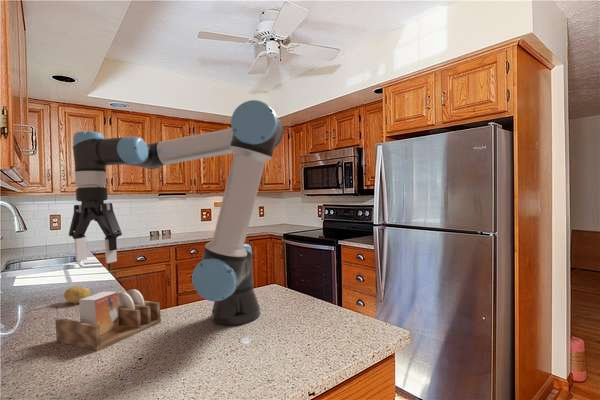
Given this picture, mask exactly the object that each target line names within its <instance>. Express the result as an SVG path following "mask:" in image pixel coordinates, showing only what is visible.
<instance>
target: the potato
mask: <svg viewBox="0 0 600 400" xmlns="http://www.w3.org/2000/svg"><path fill="white" fill-rule="evenodd" d="M89 296H91V290H90V289H89V288H87V287H85V286H74V287H69V288H67V289H66V290H65V291H64V293H63V297H64V299H65V301H66V302H68V303H71V304H79V300H80V299H83V298H86V297H89Z"/></svg>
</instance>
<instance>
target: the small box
mask: <svg viewBox="0 0 600 400" xmlns="http://www.w3.org/2000/svg"><path fill="white" fill-rule="evenodd" d="M117 294H118V291H101V292H98V293H95V294H93V295H90V296H89V297H86V298H83V299H80V300H79V303H78V305H79V322H83V323H88V324H93V325H98V326H100V336H101V335H103V334H105V333H107V332H109V331H111V330H114V329H116V328H118V327H119V316H118V296H117Z"/></svg>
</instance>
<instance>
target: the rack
mask: <svg viewBox="0 0 600 400" xmlns="http://www.w3.org/2000/svg"><path fill="white" fill-rule="evenodd" d="M117 296H118V316H119V327H118V328H116V329H114V330H111V331H109V332H107V333H105V334H103V335H101V336H100V326H98V325H93V324H88V323H83V322H80V321H79V320H72V319H68V318H62V317H57V318H55V335H56V336H55V337H56V342H60V343H64V344H67V345H71V346H75V347H79V348H83V349H86V350H90V351H91V350H92V351H94V352H99V351H101V350H103V349H105V348H107V347H110V346H112V345H114V344H117V343H118V342H121V341H123V340H125V339H127V338H130V337H132V336H134V335H136V334H138V333H140V332H143V331H145V330H147V328H148V329H149V327H150V328H151V327H154V326H156V325H159V324H161V323H162V321H161V320H162V319H161V318H162V317H161V303H160V302H156V301H150V300H144V296H143V295H142V293H141V292H140V291H139V290H138V289H135V288H134V289H129V290H127V291H126V292H119V293H117ZM160 322H161V323H160ZM158 323H159V324H158Z"/></svg>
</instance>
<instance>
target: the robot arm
mask: <svg viewBox="0 0 600 400" xmlns="http://www.w3.org/2000/svg"><path fill="white" fill-rule="evenodd" d="M230 125H231V128H226V129H220V130H216V131H211V132H205V133H204V132H203V133H198V134H193V135H189V136H183V137H178V138H172V139H169V140H167V139H166V140H162V141H158V142H156V141H155V142H152V143H147V142H146V141H144V139H143V138H142V137H140V136H129V135H128V136H124V137H111V138H105V136H104V134H102V133H101V132H98V131H90V130H89V131H86V130H85V131H84V130H82V131H77V132H75V133H74V134H73V139H72V140H73V141H72V142H73V143H72V150H73V160H74V179H75V180H74V183H75V186H76V187H77V188H76V189H75V197H76V198H75V199H76V201H77V202H80V203H81V204H74V205H73V213H72V218H71V223H70V227H69V232H68V237H72V239H73V240H74V251H75V254H74V255H75V262H81V261H86V260H87V259H88V255H87V253H88V252H87V239H86V235H85V234H86V232H87V230H88V228H89V225H90V224H91V222H92V221H95V222H97V225H98V226H99V227H100V229H101V231H102V233H103V234H104V236H105V237H104V252H105V254H104V255H105V256H104V257H105V263H106V264H111V263H115V262H117V261H118V257H117V256H118V255H117V247H118V246H117V238H118V237H122V235H123V232H122V230H121V228H120V225H119V223H118V220H117V217H116V214H115V212H114V206H113V204H112V202H104V201H107V200H108V188H107V187H106V186H107V183H108V182H107V170H106V169H107V166H120V165H123V166H131V167H137V168H138V167H139V168H143V169H147V170H156V169H157V170H158V169H160V168H162V167H163V166H166V165H167V166H168V165H172V164H178V163H182V162H188V161H189V162H190V161H195V160H201V159H207V158H213V157H218V156H223V155H224V156H225V155H228V154H233V158H232V159H231V161H232V162H231V165H230V170H229V173H228V177H227V181H226V185H225V188H224V189H225V190H224V192H223V193H224V194H223V196H222V201H221V206H220V209H219V213H218V216H217V217H218V218H217V221H216V225H215V229H214V233H213V237H212V239H211V241H209V242H207V243H205V245H204V249H203V253H202V256H201V260H200V261H199V262H198V263H197V264H196V266H195V268H194V269H193V271H192V276H191V281H192V286H193V289H195V292H197V295H199V297H201V298H202V299H205V300H206V301H210V302H214V303H213V307H212V310H211V321H212V322H213V323H214V324H217V325H222V326H235V325H236V326H237V325H242V324H247V323H249V322H252V321H255V320H257V319H258V318H259V317H260V315H261V306H260V304H259V302H258V298H257V296H256V293H255V291H254V274H253V273H254V271H253V252H252V246H251V245H250V244H248V243H245V242H246V238H247V234H248V230H249V226H250V222H251V219H252V214H253V210H254V207H255V203H256V199H257V194H258V190H259V187H260V182H261V179H262V175H263V173H264V172H263V171H264V168H265V163H267V162H269V161H270V160H271V159H272V158H273V154H274V150H275V149H276V148H277V147H278V146H279V144H280V143H281V142H282V140H283V137H284V126H283V124H282V121H281V120H280V119H279V117H278V115H277V113H276V111H275V109H274V108H273V107H271V106H270V105H269V104H268V103H267V102H264V101H262V100H259V99H257V100H256V99H250V100H247V101H244V102H243V103H241V104H239V105H238V106H237V107H236V108H235V110H234V111H233V112H232V115H231V119H230Z"/></svg>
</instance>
